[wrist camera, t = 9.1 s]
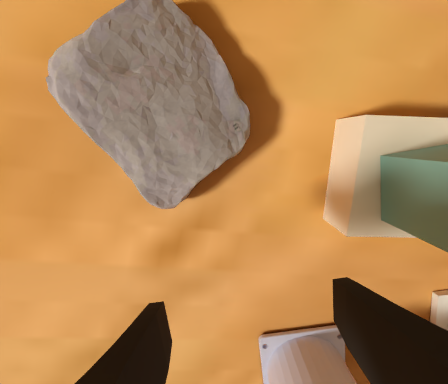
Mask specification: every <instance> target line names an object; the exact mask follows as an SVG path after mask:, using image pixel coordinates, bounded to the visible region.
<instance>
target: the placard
mask: <svg viewBox="0 0 448 384" xmlns="http://www.w3.org/2000/svg"><path fill="white" fill-rule="evenodd" d="M430 322H431V323H433V324H435V325H437V326H439V327H441V328H444V329H446V330H448V290H442V291H435V292H432V303H431V314H430Z"/></svg>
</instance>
